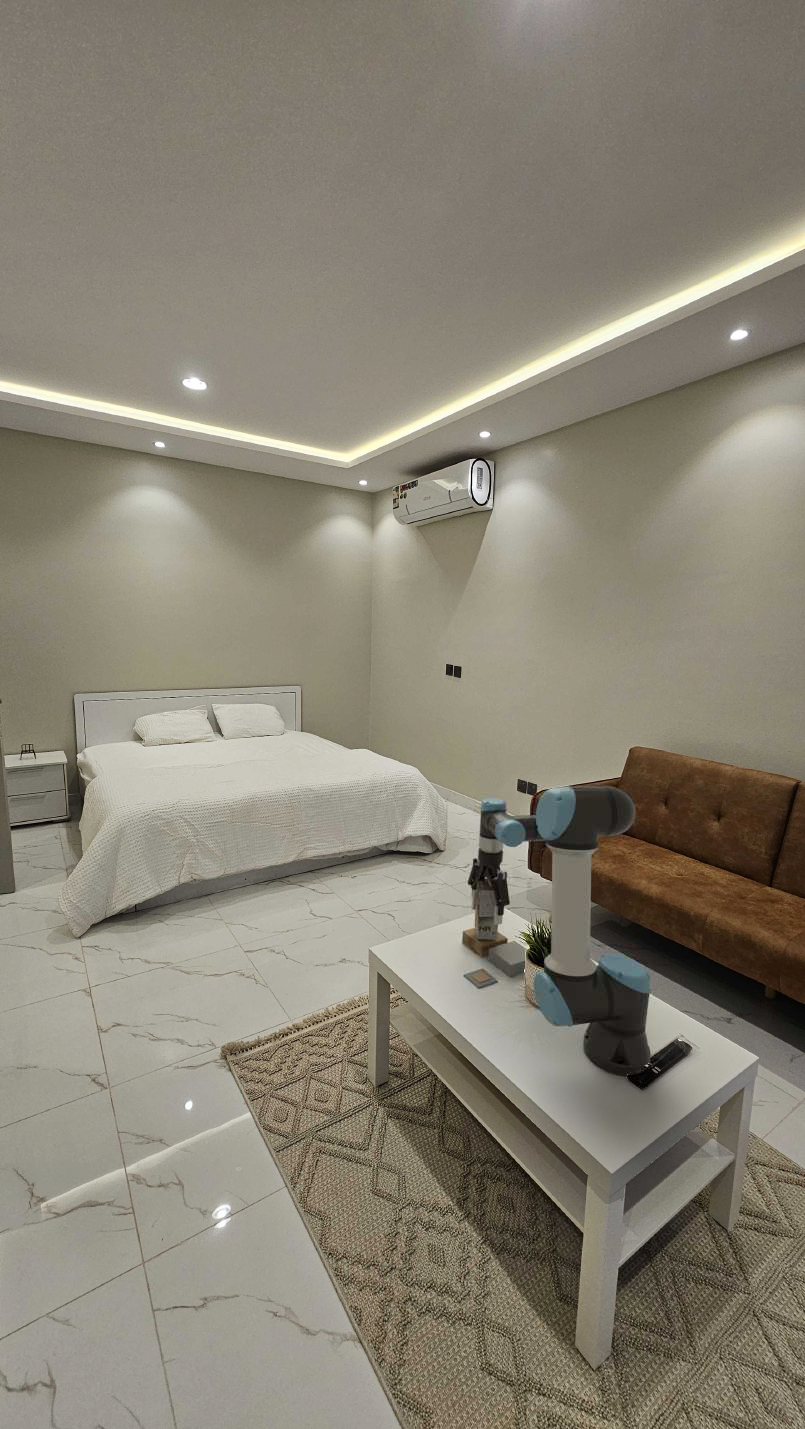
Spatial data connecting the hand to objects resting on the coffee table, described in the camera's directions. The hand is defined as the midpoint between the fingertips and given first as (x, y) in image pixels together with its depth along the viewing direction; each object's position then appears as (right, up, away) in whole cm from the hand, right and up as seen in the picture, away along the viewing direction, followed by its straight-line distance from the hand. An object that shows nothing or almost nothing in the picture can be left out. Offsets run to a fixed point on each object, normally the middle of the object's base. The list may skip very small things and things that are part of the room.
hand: (486, 916), depth 189 cm
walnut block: (0, -10, +2) cm, 10 cm away
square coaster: (-4, -13, -16) cm, 21 cm away
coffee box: (0, -5, +1) cm, 6 cm away
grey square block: (+6, -12, -8) cm, 16 cm away
